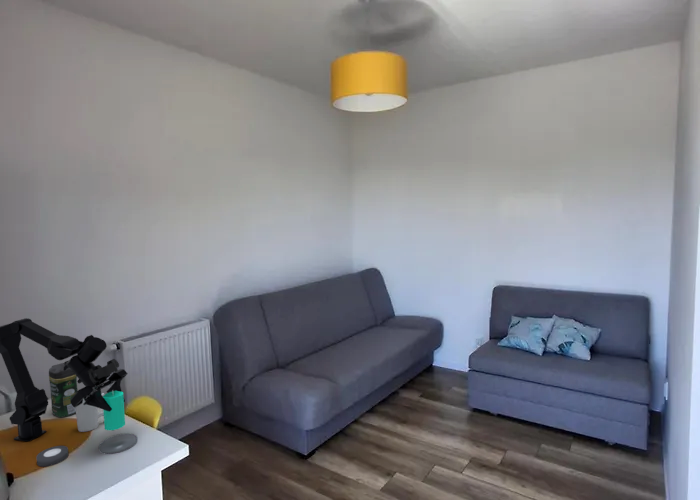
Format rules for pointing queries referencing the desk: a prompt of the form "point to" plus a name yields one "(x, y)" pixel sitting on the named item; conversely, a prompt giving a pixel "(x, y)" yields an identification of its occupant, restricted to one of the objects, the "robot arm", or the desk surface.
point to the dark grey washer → (52, 456)
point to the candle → (114, 411)
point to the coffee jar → (62, 390)
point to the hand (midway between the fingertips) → (117, 406)
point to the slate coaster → (117, 443)
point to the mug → (87, 417)
